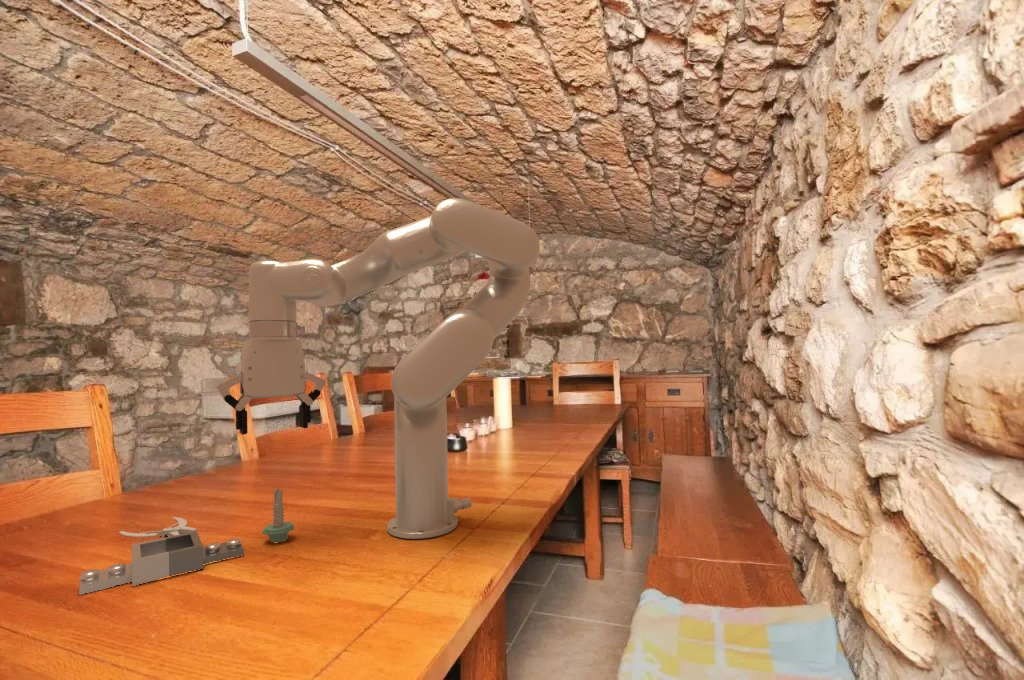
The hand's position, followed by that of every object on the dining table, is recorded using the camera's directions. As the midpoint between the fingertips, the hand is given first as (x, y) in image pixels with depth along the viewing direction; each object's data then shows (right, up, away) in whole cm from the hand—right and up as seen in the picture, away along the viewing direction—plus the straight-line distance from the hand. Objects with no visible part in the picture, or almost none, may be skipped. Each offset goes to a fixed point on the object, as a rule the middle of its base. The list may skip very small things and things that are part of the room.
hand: (274, 430), depth 87 cm
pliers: (-22, -20, +5) cm, 31 cm away
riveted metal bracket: (-11, -19, -11) cm, 25 cm away
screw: (+1, -19, -1) cm, 19 cm away
